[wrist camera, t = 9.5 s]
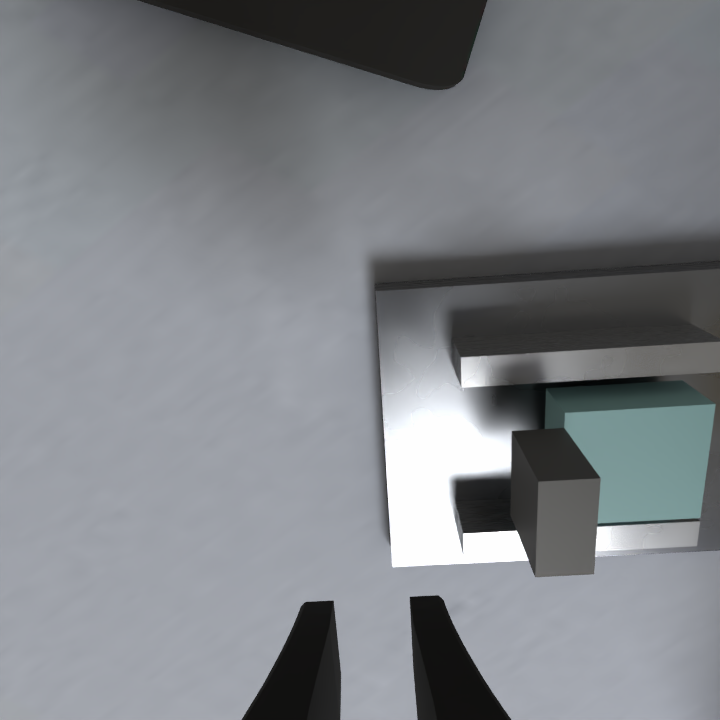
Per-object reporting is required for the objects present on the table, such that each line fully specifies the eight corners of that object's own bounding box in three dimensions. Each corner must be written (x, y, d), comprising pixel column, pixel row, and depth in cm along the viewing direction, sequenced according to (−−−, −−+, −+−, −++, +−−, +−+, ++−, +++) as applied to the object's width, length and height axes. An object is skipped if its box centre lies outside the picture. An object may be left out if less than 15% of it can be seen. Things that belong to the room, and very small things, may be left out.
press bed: (962, 245, 20) (1066, 261, 17) (890, 522, 24) (967, 575, 21) (375, 284, 21) (376, 305, 18) (391, 547, 25) (394, 603, 21)
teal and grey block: (682, 380, 20) (781, 451, 15) (670, 485, 21) (757, 580, 16) (497, 391, 20) (538, 464, 15) (497, 494, 21) (534, 592, 17)
